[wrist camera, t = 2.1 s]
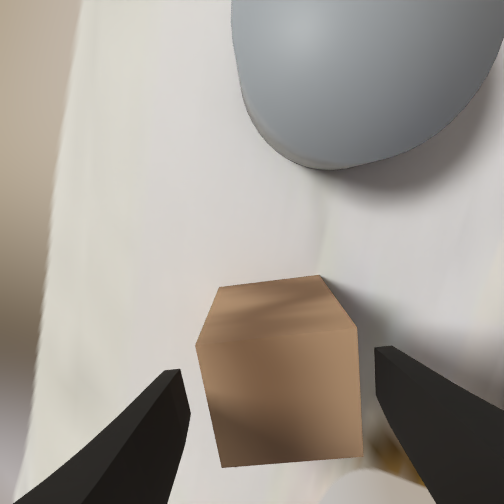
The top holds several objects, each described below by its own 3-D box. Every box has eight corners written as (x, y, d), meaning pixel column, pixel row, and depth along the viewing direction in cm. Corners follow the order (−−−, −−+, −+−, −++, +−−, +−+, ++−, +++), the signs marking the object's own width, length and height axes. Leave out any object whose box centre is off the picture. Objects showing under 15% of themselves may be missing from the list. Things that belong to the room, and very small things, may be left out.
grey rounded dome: (442, -78, 9) (529, -206, 6) (435, 155, 11) (500, 142, 8) (224, -35, 10) (209, -134, 7) (253, 182, 11) (251, 179, 8)
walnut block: (318, 274, 12) (357, 327, 8) (326, 361, 14) (363, 456, 9) (219, 286, 13) (195, 345, 8) (234, 371, 14) (221, 467, 9)
